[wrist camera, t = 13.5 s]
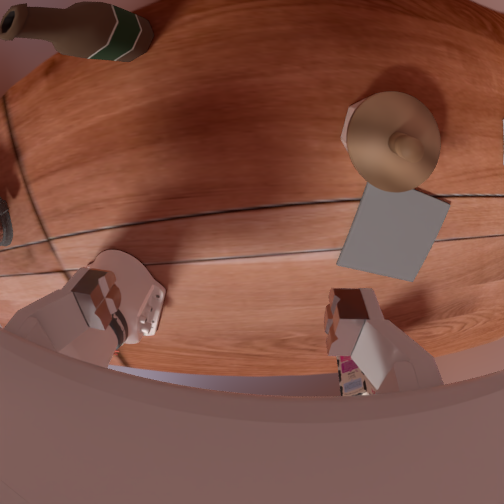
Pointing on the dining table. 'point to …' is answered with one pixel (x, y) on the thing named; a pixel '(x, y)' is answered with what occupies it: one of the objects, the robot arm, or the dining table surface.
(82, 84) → the dining table surface
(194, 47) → the dining table surface
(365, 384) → the candy bar box
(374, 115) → the lid
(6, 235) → the tankard
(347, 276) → the dining table surface
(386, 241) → the mat
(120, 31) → the beer bottle
